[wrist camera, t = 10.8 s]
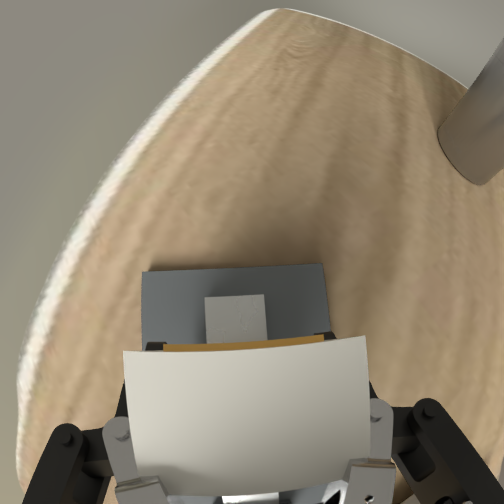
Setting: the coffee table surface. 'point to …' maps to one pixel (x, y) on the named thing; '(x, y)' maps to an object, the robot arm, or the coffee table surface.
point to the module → (248, 414)
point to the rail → (239, 330)
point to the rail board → (236, 284)
